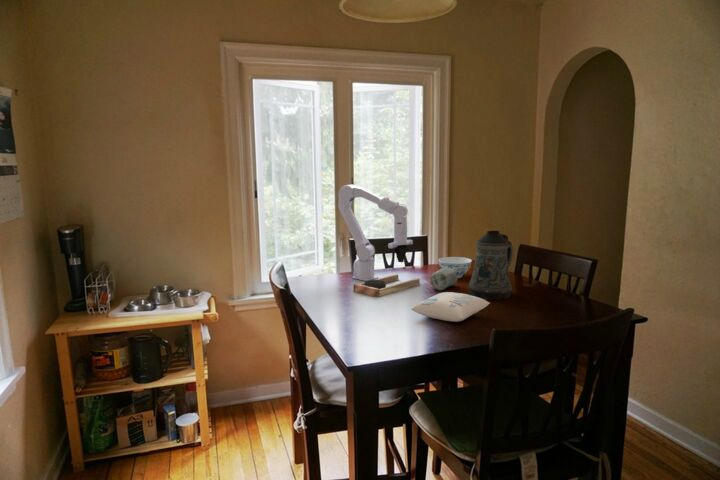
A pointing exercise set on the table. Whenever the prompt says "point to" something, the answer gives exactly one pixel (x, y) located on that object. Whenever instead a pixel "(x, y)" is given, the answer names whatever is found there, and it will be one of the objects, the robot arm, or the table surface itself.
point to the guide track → (379, 292)
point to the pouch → (450, 306)
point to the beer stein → (492, 267)
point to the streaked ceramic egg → (443, 278)
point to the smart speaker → (375, 284)
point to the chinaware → (456, 264)
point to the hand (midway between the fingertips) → (400, 262)
